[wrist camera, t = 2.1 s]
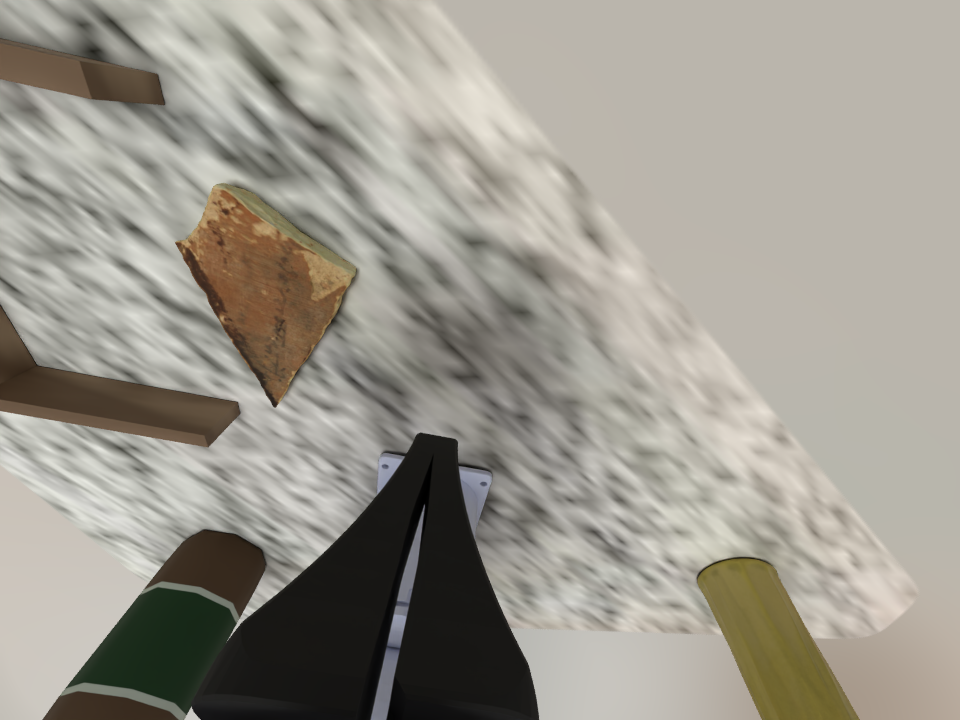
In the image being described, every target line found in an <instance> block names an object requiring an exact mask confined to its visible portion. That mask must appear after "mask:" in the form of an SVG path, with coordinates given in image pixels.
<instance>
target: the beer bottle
mask: <svg viewBox="0 0 960 720" xmlns="http://www.w3.org/2000/svg"><path fill="white" fill-rule="evenodd" d="M265 565H266V564H265V561H264V558H263V554H262V551H261V549H259V548H258V547H256V546H254V545H252V544H251V543H249V542H247V541H246V540H244V539H242V538H241V537H239V536H237V535H234V534H228V533H221V532H215V531H209V530H204V531H202V532H200V533H198V534H196V535H194V536H192V537H190V538H188V539H187V540H185V541H184V542H183V543H182V544H181V545H180V546H179V547H178V548H177V549H176V551H175V552H174V553H173V554H172V555H171V556H170V558H169V559H168V560H167V561H166V562H165V563H164V565H163V566H162V567H161V569H160V570H159V571H158V572H157V574H156V575H155V576H154V577H153V579H152V580H151V581H150V582H149V584H148V585H147V586H146V588H145V589H144V590H143V591H142V593H141V594H140V595H139V596H138V598H137V599H136V600H135V601H134V603H133V604H132V605H131V606H130V608H129V609H128V610H127V612H126V613H125V614H124V615H123V616H122V618H121V619H120V620H119V622H118V623H117V624H116V625H115V627H114V628H113V629H112V630H111V632H110V633H109V634H108V635H107V637H106V638H105V639H104V641H103V642H102V643H101V644H100V646H99V647H98V648H97V649H96V651H95V652H94V653H93V654H92V656H91V657H90V658H89V659H88V661H87V662H86V663H85V665H84V666H83V667H82V668H81V670H80V671H79V672H78V673H77V675H76V676H75V677H74V678H73V680H72V681H71V682H70V683H69V685H68V686H67V687H66V688H65V690H64V691H63V692H62V694H61V695H60V696H59V697H58V699H57V700H56V702H55V703H54V704H53V706H52V707H51V709H50V710H49V711H48V713H47V714H46V716H45V717H44V718H43V720H184V719H185V717H186V715H187V713H188V712H189V710H190V708H191V706H192V705H191V702H192V700H193V698H194V696H195V694H196V692H197V690H198V689H199V687H200V685H201V683H202V681H203V679H204V678H205V676H206V674H207V672H208V670H209V668H210V667H211V665H212V663H213V662H214V660H215V659H216V657H217V656H218V654H219V653H220V651H221V650H222V648H223V647H224V645H225V644H226V642H227V640H228V639H229V637H230V635H231V633H232V631H233V629H234V627H235V626H236V624H237V622H238V620H239V619H240V617H241V615H242V613H243V611H244V609H245V608H246V606H247V604H248V602H249V600H250V598H251V597H252V595H253V593H254V591H255V589H256V587H257V585H258V583H259V581H260V579H261V577H262V575H263V573H264V571H265Z"/></svg>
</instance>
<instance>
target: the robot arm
mask: <svg viewBox="0 0 960 720" xmlns="http://www.w3.org/2000/svg"><path fill="white" fill-rule="evenodd" d="M491 482H492V474H491V473H490V472H488V471H484V470H479V469H473V468H468V467H462V466H459V465H458V441H457V440H456V439H452V438H447V437H441V436H436V435H430V434H425V433H419V434H417V435H416V437H415V440H414V442H413V444H412V445H411V447H410V449H409V451H408V452H407V454H406V456H400V455H395V454H389V453H383V454H381V455H380V458H379V463H378V483H377V496H376V497H375V498H374V500H373V501H372V502H371V503H370V505H369V506H368V507H367V508H366V509H365V510H364V512H363V513H362V514H361V515H360V516H359V517H358V518H357V519H356V521H355V522H354V523H353V524H352V525H351V526H350V527H349V528H348V529H347V530H346V531H345V532H344V533H343V534H342V535H341V536H340V537H339V538H338V539H337V540H336V541H335V542H334V543H333V544H332V545H331V546H330V547H329V548H328V549H327V550H326V551H325V552H324V553H323V554H322V555H321V556H320V557H319V558H318V559H317V560H316V561H315V562H313V563H312V564H311V565H310V566H309V567H308V568H307V569H306V570H304V571H303V572H302V573H301V574H300V575H299V576H298V577H297V578H295V579H294V580H293V581H292V582H291V583H290V584H289V585H287V586H286V587H285V588H284V589H283V590H281V591H280V592H279V593H278V594H277V595H275V596H274V597H273V598H272V599H270V600H269V601H268V602H267V603H265V604H264V605H263V606H262V607H260V608H259V609H258V610H257V611H255V612H254V613H253V614H252V615H250V616H249V617H248V618H247V619H245V620H244V621H243V622H242V623H241V624H240V626H239V627H238V628H237V629H236V631H235V632H234V633H233V635H232V636H231V637H230V638H229V640H228V641H227V643H226V644H225V645H224V647H223V648H222V650H221V651H220V653H219V654H218V656H217V657H216V659H215V660H214V662H213V663H212V665H211V667H210V668H209V670H208V672H207V674H206V676H205V678H204V679H203V681H202V683H201V685H200V687H199V689H198V690H197V692H196V694H195V696H194V698H193V700H192V702H191V705H192V709H193V711H194V713H195V714H196V715H197V716H198V717H199V718H200V719H201V720H539V713H538V707H537V699H536V694H535V689H534V685H533V681H532V677H531V673H530V669H529V665H528V663H527V661H526V659H525V657H524V655H523V653H522V651H521V649H520V647H519V645H518V643H517V641H516V639H515V637H514V635H513V633H512V631H511V629H510V627H509V625H508V623H507V620H506V618H505V616H504V614H503V612H502V609H501V607H500V605H499V603H498V600H497V598H496V595H495V593H494V591H493V588H492V586H491V583H490V581H489V578H488V576H487V573H486V571H485V568H484V565H483V563H482V560H481V557H480V554H479V551H478V548H477V545H476V542H475V535H476V528H477V524H478V521H479V518H480V515H481V512H482V509H483V506H484V503H485V500H486V497H487V494H488V491H489V488H490V485H491Z"/></svg>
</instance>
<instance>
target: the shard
mask: <svg viewBox="0 0 960 720" xmlns="http://www.w3.org/2000/svg"><path fill="white" fill-rule="evenodd" d="M175 244H176V245H177V247H178V249H179V251H180V252H181V254H182V255H183V259H184V261H185V263H186V264H187V265H188V267H189V268H190V271H191V273H192V276H193V277H194V279H195V280H196V282H197V284H198V285H199V287H200V288H201V289H202V290H203V291H204V292H205V293H206V295H207V298H208V302H209V304H210V306H211V307H212V309H213V311H214V313H215V314H216V316H217V317H218V319H219V321H220V322H221V324H222V326H223V328H224V330H225V332H226V333H227V335H228V336H229V338H230V339H231V340H232V343H233V344H234V345H235V347H236V348H237V350H238V351H239V353H240V355H241V356H242V358H243V359H244V360H245V362H246V363H247V364H248V366H249V368H250V369H251V370H252V372H253V373H254V374H255V375H256V377H257V379H258V380H259V382H260V384H261V386H262V388H263V389H264V391H265V393H266V396H267V397H268V398H269V400H270V401H271V403H272V405H273V407H277V405H278V404H279V402H280V401H281V400H282V398H283V396H284V394H285V393H286V391H287V389H288V387H289V384H290V382H291V380H292V379H293V377H294V375H295V373H296V372H297V370H298V369H299V367H300V366H301V365H302V364H303V363H304V362H305V361H306V360H307V358H308V357H309V355H310V354H311V352H312V351H313V348H314V346H315V345H316V344H317V343H318V342H319V341H320V339H321V338H322V335H323V334H324V332H325V329H326V328H327V326H328V325H329V324H330V323H331V320H332V319H333V317H334V316H335V315H336V313H337V311H338V309H339V307H340V305H341V301H342V295H343V294H344V292H345V290H346V289H347V288H348V286H349V285H350V284H351V280H352V278H353V277H354V276H355V273H356V267H354V266H353V265H351V264H350V263H349V262H347V261H345V260H344V259H342V258H340V257H339V256H337V255H336V254H335V253H333V252H331V251H330V250H329V249H327V248H326V247H324V246H323V245H321V244H319V243H318V242H316V241H315V240H313V239H311V238H310V237H308V236H307V235H305V234H304V233H302V232H300V231H299V230H298V229H297V228H296V227H295V226H293V225H292V224H291V223H290V222H289V221H287V220H286V219H285V218H284V217H283V216H281V215H280V214H279V213H278V212H277V211H275V210H274V209H272V208H271V207H269V206H268V205H266V204H265V203H264V202H262V201H261V200H260V199H259V198H258V197H257V196H256V195H255V194H253V193H251V192H248V191H246V190H244V189H240V188H237V187H234V186H231V185H228V184H226V183H221V184H217V185H215V186H213V188H212V191H211V193H210V195H209V198H208V202H207V206H206V207H205V211H204V213H203V216H202V219H201V221H200V222H199V224H198V226H197V228H196V229H195V230H194V231H193V232H192V233H191V235H190V236H189V237H188V239H186V240H181V241H176V242H175Z"/></svg>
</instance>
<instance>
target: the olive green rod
mask: <svg viewBox="0 0 960 720" xmlns="http://www.w3.org/2000/svg"><path fill="white" fill-rule="evenodd" d="M698 586H699V588H700V589H701V591H702V592H703V594H704V596H705V598H706V600H707V602H708V604H709V606H710V608H711V610H712V612H713V615H714V617H715V619H716V621H717V623H718V625H719V626H720V628H721V631H722V633H723V635H724V637H725V639H726V641H727V643H728V645H729V647H730V649H731V652H732V654H733V656H734V658H735V661H736V663H737V665H738V667H739V670H740V672H741V674H742V677H743V679H744V681H745V683H746V685H747V688H748V690H749V692H750V694H751V696H752V699H753V701H754V703H755V706H756V708H757V710H758V712H759V714H760V716H761V718H762V720H860V719H859V718H858V716H857V714H856V712H855V711H854V709H853V707H852V706H851V704H850V702H849V700H848V698H847V696H846V695H845V693H844V691H843V689H842V687H841V686H840V684H839V682H838V681H837V679H836V677H835V676H834V674H833V672H832V670H831V669H830V667H829V665H828V663H827V662H826V660H825V659H824V657H823V655H822V653H821V652H820V650H819V648H818V647H817V645H816V644H815V642H814V640H813V638H812V637H811V635H810V633H809V632H808V630H807V628H806V627H805V625H804V623H803V621H802V619H801V617H800V616H799V614H798V612H797V610H796V608H795V606H794V605H793V603H792V601H791V599H790V597H789V595H788V594H787V592H786V590H785V588H784V586H783V585H782V583H781V581H780V579H779V577H778V574H777V571H776V570H775V569H774V568H773V567H772V566H771V565H769V564H768V563H765V562H763V561H760V560H756V559H748V558H738V559H730V560H725V561H722V562H718V563H716V564H713V565H711V566H709V567H708V568H706V569H705V570H704V571H702V572H701V574H700V575H699V577H698Z"/></svg>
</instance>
